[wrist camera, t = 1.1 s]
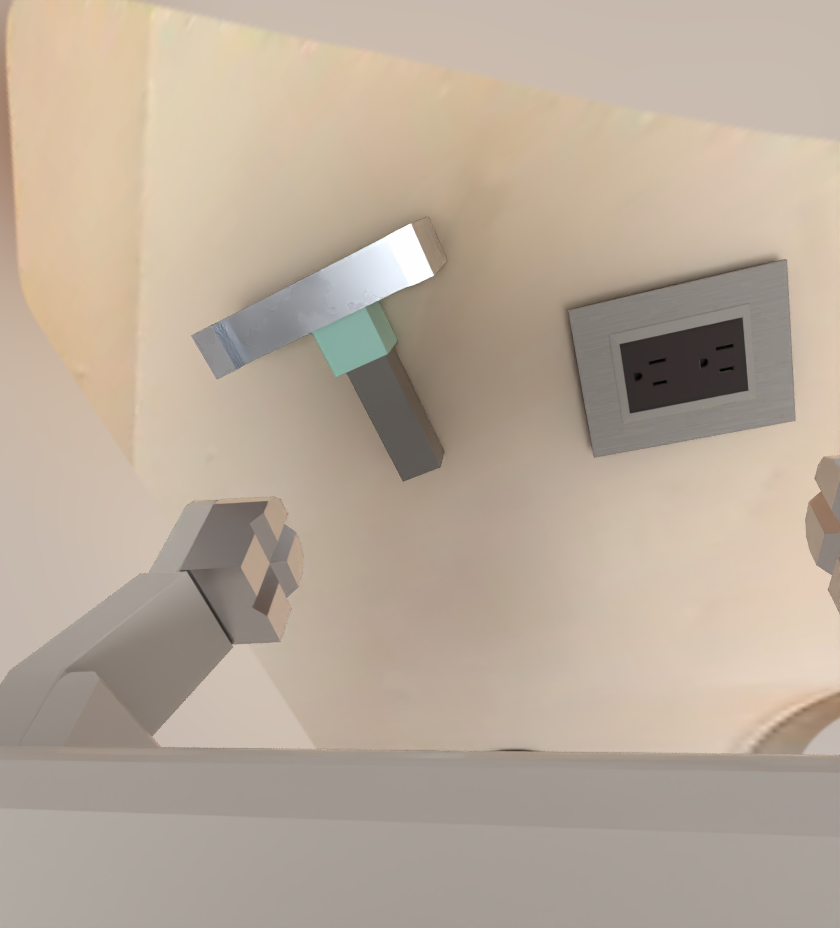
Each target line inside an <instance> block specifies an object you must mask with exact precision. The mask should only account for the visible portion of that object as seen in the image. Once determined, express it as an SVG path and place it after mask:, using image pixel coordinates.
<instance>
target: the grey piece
mask: <svg viewBox="0 0 840 928" xmlns="http://www.w3.org/2000/svg"><path fill="white" fill-rule="evenodd" d="M446 261H447V258H446V256H445V253H444V251H443V249H442V247H441V244H440V242H439V240H438V238H437V235H436V233H435V231H434V228H433V226H432V224H431V222H430V219H429V217H427V218H424V219H421V220H419V221H416V222H414V223H411V224H409V225H407V226H405V227H403V228H401V229H399V230H397V231H395V232H393V233H391V234H389V235H388V236H386V237H384V238H382V239H380V240H378V241H377V242H375V243H373V244H371V245H369V246H367V247H365V248H363V249H361V250H359V251H357V252H355V253H353V254H351V255H349V256H347V257H345V258H343V259H341V260H339V261H337V262H335V263H333V264H331V265H329V266H327V267H325V268H323V269H322V270H320V271H318V272H316V273H314V274H312V275H310V276H308V277H306V278H304V279H302V280H300V281H298V282H296V283H294V284H292V285H290V286H288V287H286V288H284V289H282V290H280V291H278V292H276V293H274V294H272V295H270V296H268V297H267V298H265V299H263V300H261V301H259V302H257V303H255V304H253V305H251V306H249V307H247V308H245V309H243V310H241V311H239V312H237V313H235V314H233V315H231V316H229V317H227V318H225V319H223V320H221V321H219V322H217V323H215V324H213V325H211V326H209V327H207V328H205V329H203V330H201V331H199V332H197V333H195V334H193V335H191V336H192V338H193V339H194V341H195V343H196V345H197V346H198V348H199V350H200V351H201V353H202V355H203V356H204V358H205V360H206V362H207V363H208V365H209V367H210V368H211V370H212V372H213V373H214V375H215V377H216V379H219V378H221V377H223V376H225V375H227V374H229V373H231V372H234V371H236V370H237V369H239V368H240V367H242V366H243V365H245V364H247V363H249V362H251V361H253V360H255V359H257V358H260V357H262V356H264V355H266V354H268V353H270V352H272V351H274V350H276V349H278V348H280V347H282V346H285V345H287V344H289V343H291V342H293V341H295V340H297V339H299V338H301V337H303V336H305V335H307V334H310V333H312V332H314V331H316V330H318V329H320V328H322V327H324V326H326V325H328V324H330V323H333V322H335V321H337V320H339V319H341V318H343V317H345V316H347V315H349V314H351V313H353V312H355V311H358V310H360V309H362V308H364V307H366V306H368V305H370V304H372V303H374V302H376V301H378V300H380V299H383V298H385V297H387V296H389V295H391V294H393V293H395V292H397V291H399V290H401V289H403V288H405V287H408V286H410V287H411V286H413V285H415V284H417V283H419V282H422V281H424V280H426V279H428V278H430V277H432V276H434V275H435V274H436V273H437V271H438V270H439V269H440V268H441V267H442V266H443V265H444V263H445V262H446Z"/></svg>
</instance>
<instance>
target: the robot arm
mask: <svg viewBox="0 0 840 928" xmlns="http://www.w3.org/2000/svg"><path fill="white" fill-rule="evenodd" d="M814 479H815V480H816V482H817V484H818V486H819V488H820V490H821V492H820V493H819V494H817V495H816V496H815V497H814V498H813V499H812V500H810V501H809V503H808V508H807V513H806V518H805V522H806V538H807V542H808V545H809V549H810V552H811V554H812V556H813V559H814V561H815V563H816V565H817V566H819V567H820V568H822V569H823V570H825V571H826V572H828V573H829V574H831V575H832V578H831V581H830V584H829V588H828V591H829V593H830V595H831V597H832V599H833V601H834V603H835V605H836V607H837V609H838V611H839V613H840V455H839V456H826V457H823V458H822V460H821V461H820V463H819V464H818V467H817V471H816V475H815V478H814ZM287 515H288V512H287V510H286V508H285V506H284V504H283V502H282V500H281V499H279V498H277V497H255V498H234V499H220V500H204V501H193V502H191V503H190V504H188V505H187V506H186V507H185V509H184V510H183V512H182V514H181V516H180V518H179V519H178V521H177V523H176V525H175V527H174V528H173V530H172V532H171V534H170V535H169V537H168V539H167V541H166V543H165V544H164V546H163V548H162V550H161V551H160V553H159V555H158V557H157V559H156V560H155V562H154V564H153V566H152V568H151V569H150V571H149V573H143V574H139V575H138V576H136V577H135V578H133V579H132V580H131V581H129V582H128V583H127V584H125V585H124V586H123V587H121V588H120V589H119V590H117V591H116V592H115V593H113V594H112V595H111V596H109V597H108V598H107V599H105V600H104V601H103V602H101V603H100V604H98V605H97V606H96V607H95V608H93V609H92V610H90V611H89V612H88V613H86V614H85V615H84V616H82V617H81V618H80V619H78V620H77V621H76V622H74V623H73V624H72V625H70V626H69V627H68V628H66V629H65V630H63V631H62V632H61V633H59V634H58V635H57V636H55V637H54V638H53V639H51V640H50V641H49V642H47V643H46V644H45V645H43V646H42V647H41V648H39V649H38V650H37V651H35V652H34V653H33V654H31V655H30V656H29V657H27V658H26V659H24V660H23V661H22V662H20V663H19V664H18V665H16V666H15V667H14V668H12V669H11V670H10V671H9V672H8V674H7V675H6V677H5V679H4V680H3V681H2V683H1V684H0V928H840V755H805V754H714V753H621V752H528V751H440V750H356V749H272V748H266V749H265V748H178V747H177V748H175V747H161V746H160V745H159V744H158V743H157V742H156V741H155V740H154V738H153V737H152V736H153V735H154V734H155V733H156V732H157V730H158V729H159V728H160V727H161V726H162V725H163V724H164V723H165V722H166V720H167V719H168V718H169V717H170V716H171V715H172V714H173V713H174V712H175V710H176V709H177V708H178V707H179V706H180V705H181V704H182V703H183V702H184V701H185V700H186V698H187V697H188V696H189V695H190V694H191V693H192V692H193V691H194V690H195V688H196V687H197V686H198V685H199V684H200V683H201V682H202V681H203V680H204V679H205V678H206V676H207V675H208V674H209V673H210V672H211V671H212V670H213V669H214V668H215V666H216V665H217V664H218V663H219V662H220V661H221V660H222V659H223V658H224V656H225V655H226V654H227V653H228V652H229V651H230V650H231V649H232V648H233V646H232V644H250V643H269V642H281V639H282V636H283V633H284V630H285V627H286V624H287V621H288V618H289V615H290V612H291V606H290V604H289V602H288V600H287V597H288V596H289V595H290V594H291V593H292V592H293V591H294V590H296V589H297V588H298V587H299V583H300V580H301V576H302V573H303V552H302V547H301V543H300V540H299V538H298V535H297V533H296V532H295V531H293V530H292V529H290V528H289V527H288V526H286V525H285V524H284V523H285V521H286V518H287Z"/></svg>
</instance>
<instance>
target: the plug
mask: <svg viewBox="0 0 840 928" xmlns="http://www.w3.org/2000/svg"><path fill="white" fill-rule="evenodd" d="M312 333H313V335H314V337H315V339H316V341H317V343H318V345H319V347H320V349H321V351H322V353H323V354H324V356H325V358H326V360H327V362H328V364H329V366H330V368H331V370H332V372H333V373H334V375H335V377H338V376H340V375H342V374H345V373H347V375H348V376H349V378H350V380H351V382H352V384H353V386H354V388H355V390H356V392H357V394H358V396H359V398H360V400H361V402H362V403H363V405H364V407H365V409H366V411H367V413H368V415H369V417H370V419H371V421H372V423H373V425H374V427H375V429H376V431H377V432H378V434H379V436H380V438H381V440H382V442H383V444H384V446H385V448H386V450H387V452H388V454H389V456H390V458H391V459H392V461H393V463H394V465H395V467H396V469H397V471H398V473H399V475H400V477H401V479H402V481H406V480H409V479H411V478H414V477H416V476H419V475H421V474H424V473H427V472H429V471H432V470H434V469H437V468H440V466H441V463H442V459H443V455H444V450H443V448H442V446H441V444H440V442H439V440H438V438H437V436H436V434H435V431H434V429H433V427H432V425H431V423H430V421H429V419H428V417H427V415H426V413H425V411H424V409H423V407H422V405H421V403H420V401H419V399H418V397H417V394H416V392H415V390H414V388H413V386H412V384H411V382H410V380H409V378H408V376H407V374H406V372H405V370H404V368H403V366H402V364H401V362H400V360H399V358H398V355H397V353H396V351H395V349H394V347H393V346H394V345H395V344H396V342H397V341H398V340H397V338H396V336H395V334H394V332H393V330H392V327H391V325H390V323H389V321H388V319H387V317H386V315H385V313H384V311H383V309H382V307H381V305H380V303H379V301H376V302H374V303H372V304H370V305H368V306H366V307H364V308H362V309H360V310H358V311H355V312H353V313H351V314H349V315H347V316H345V317H343V318H341V319H339V320H337V321H335V322H333V323H330V324H328V325H326V326H324V327H322V328H320V329H318V330H316V331H314V332H312Z"/></svg>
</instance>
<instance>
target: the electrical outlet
mask: <svg viewBox="0 0 840 928" xmlns="http://www.w3.org/2000/svg"><path fill="white" fill-rule="evenodd" d="M568 313H569V318H570V324H571V330H572V335H573V341H574V347H575V353H576V358H577V364H578V370H579V375H580V381H581V387H582V393H583V398H584V404H585V410H586V415H587V421H588V427H589V432H590V438H591V444H592V450H593V455H594V458H595V457H600V456H605V455H611V454H616V453H622V452H627V451H633V450H638V449H644V448H649V447H655V446H660V445H666V444H671V443H676V442H682V441H687V440H693V439H698V438H704V437H709V436H715V435H720V434H726V433H731V432H736V431H742V430H747V429H753V428H758V427H764V426H769V425H775V424H780V423H786V422H791V421H796V420H795V402H794V383H793V365H792V346H791V328H790V309H789V291H788V272H787V260H786V259H784V260H780V261H775V262H771V263H767V264H762V265H758V266H754V267H750V268H745V269H741V270H737V271H733V272H728V273H724V274H720V275H716V276H711V277H707V278H703V279H698V280H694V281H690V282H686V283H681V284H677V285H673V286H669V287H664V288H660V289H656V290H651V291H647V292H643V293H639V294H634V295H630V296H626V297H622V298H617V299H613V300H609V301H605V302H600V303H596V304H592V305H587V306H583V307H579V308H575V309H570V310H568Z"/></svg>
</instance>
